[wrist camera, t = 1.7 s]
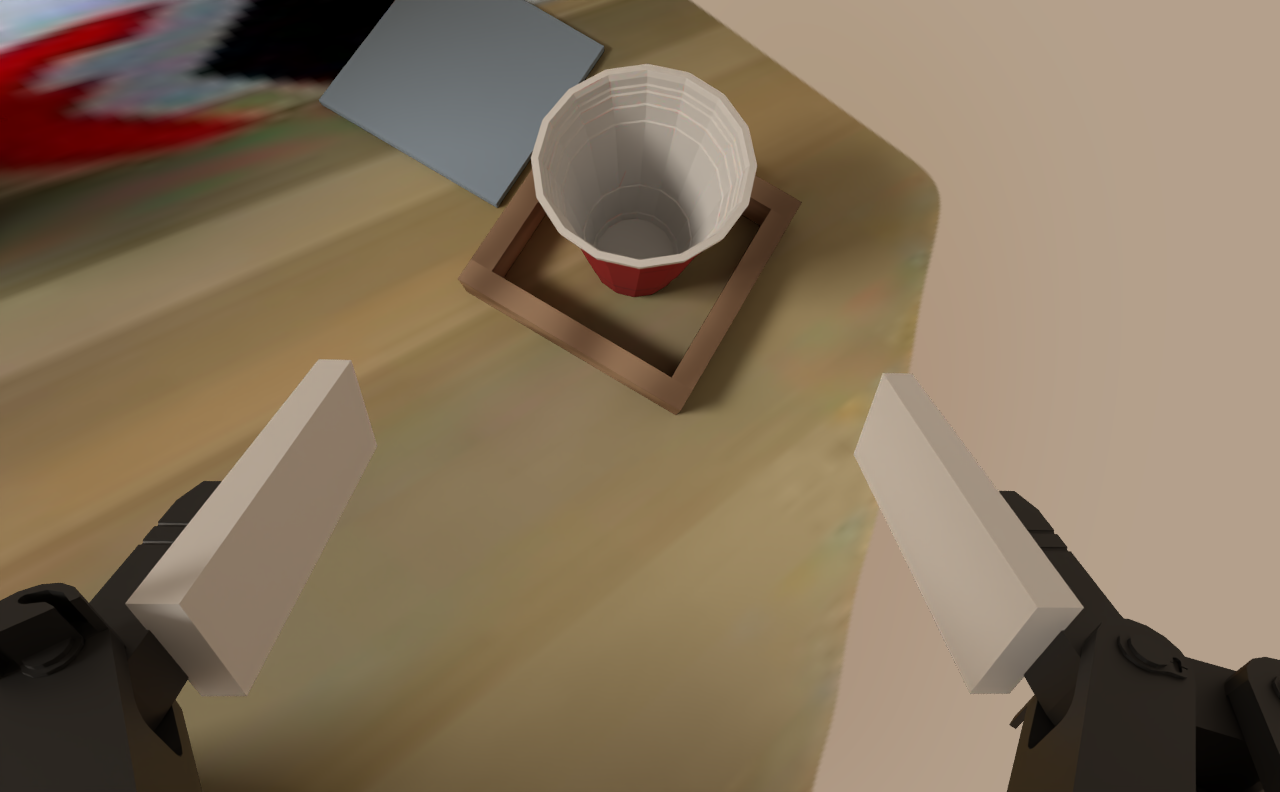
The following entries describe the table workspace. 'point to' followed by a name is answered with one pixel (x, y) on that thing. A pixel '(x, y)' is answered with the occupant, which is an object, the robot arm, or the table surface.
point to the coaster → (462, 85)
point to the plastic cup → (643, 172)
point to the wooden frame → (666, 391)
